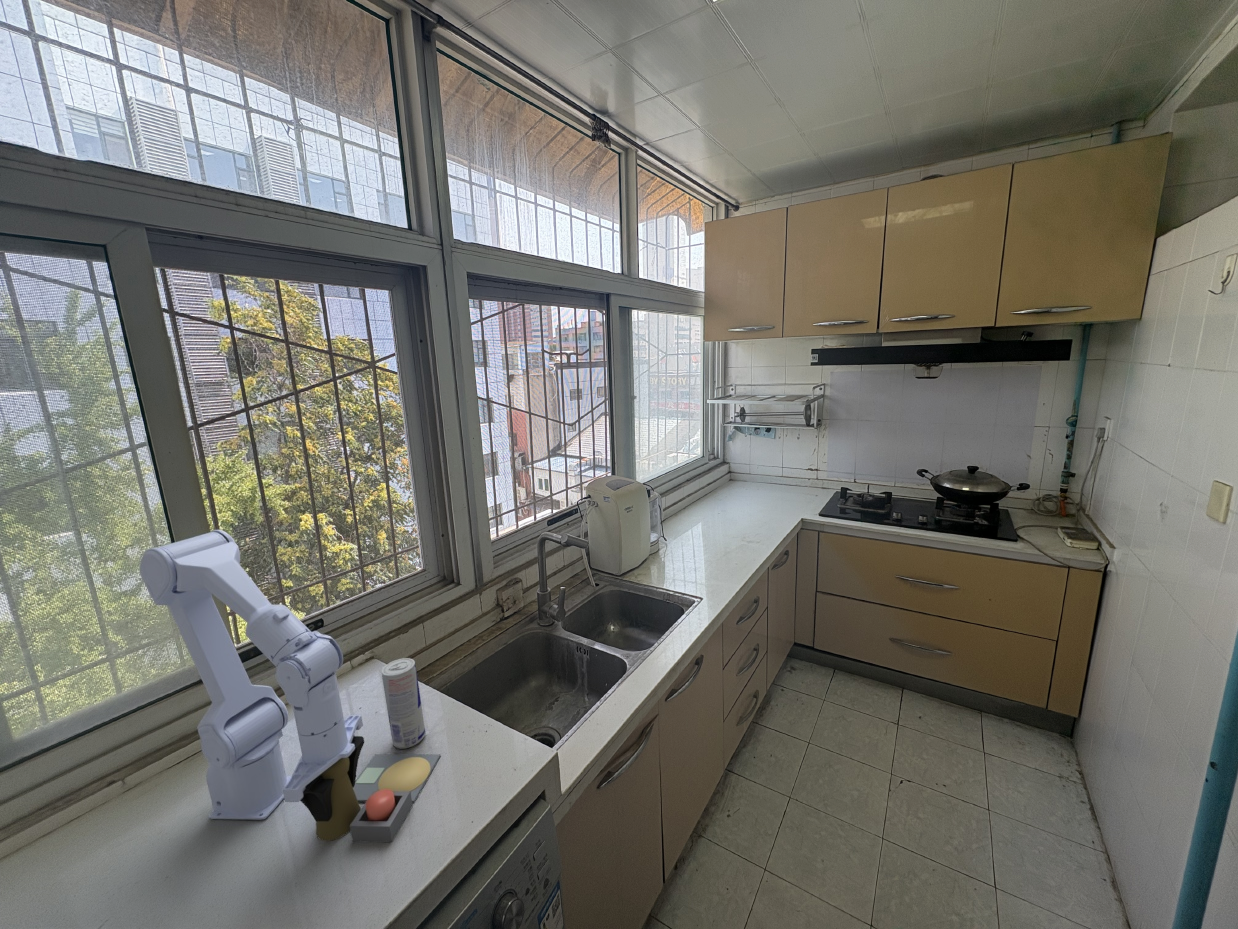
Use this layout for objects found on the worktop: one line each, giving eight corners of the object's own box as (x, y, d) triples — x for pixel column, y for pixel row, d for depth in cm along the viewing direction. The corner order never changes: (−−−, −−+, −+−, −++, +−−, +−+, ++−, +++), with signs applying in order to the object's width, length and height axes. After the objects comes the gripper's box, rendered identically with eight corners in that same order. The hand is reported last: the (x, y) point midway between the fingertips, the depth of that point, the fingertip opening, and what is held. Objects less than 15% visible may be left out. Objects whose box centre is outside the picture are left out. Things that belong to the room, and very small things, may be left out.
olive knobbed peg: (352, 798, 78) (341, 737, 76) (368, 818, 74) (357, 754, 72) (309, 826, 73) (297, 762, 71) (325, 849, 69) (312, 781, 67)
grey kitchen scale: (341, 802, 77) (341, 799, 77) (375, 756, 86) (375, 753, 86) (414, 803, 76) (413, 800, 76) (440, 756, 85) (440, 753, 85)
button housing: (352, 841, 70) (349, 826, 70) (375, 805, 76) (373, 790, 76) (392, 842, 70) (389, 826, 69) (412, 805, 76) (410, 791, 75)
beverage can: (432, 735, 91) (421, 661, 88) (405, 755, 86) (393, 678, 84) (413, 725, 94) (403, 654, 91) (386, 744, 89) (374, 669, 87)
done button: (362, 825, 71) (359, 810, 70) (377, 802, 75) (374, 789, 74) (387, 825, 71) (385, 811, 70) (400, 803, 74) (398, 789, 74)
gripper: (311, 760, 63) (329, 849, 65) (375, 690, 77) (387, 764, 80) (261, 760, 64) (280, 848, 66) (333, 690, 78) (346, 764, 80)
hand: (335, 802), depth 73 cm, fingers closed on olive knobbed peg, 5 cm apart
